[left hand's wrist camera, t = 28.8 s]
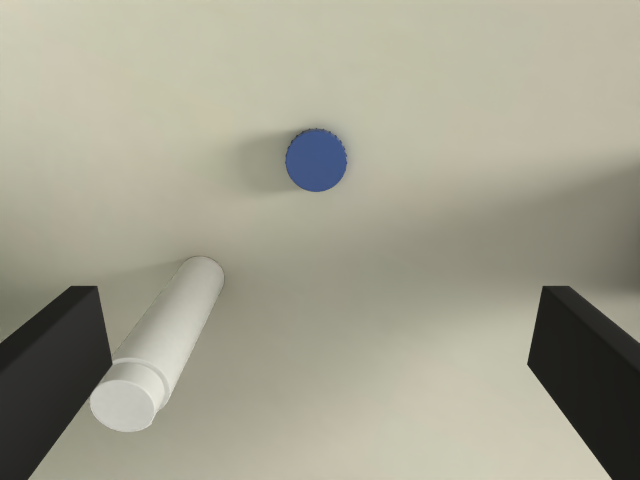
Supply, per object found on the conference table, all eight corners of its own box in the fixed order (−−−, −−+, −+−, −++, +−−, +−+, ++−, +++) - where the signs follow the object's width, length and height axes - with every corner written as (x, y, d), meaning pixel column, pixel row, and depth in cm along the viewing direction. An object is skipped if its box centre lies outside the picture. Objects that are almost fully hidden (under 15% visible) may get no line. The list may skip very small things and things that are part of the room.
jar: (169, 274, 45) (67, 402, 27) (202, 247, 44) (119, 362, 26) (201, 305, 46) (125, 448, 28) (233, 279, 45) (176, 411, 27)
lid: (353, 176, 41) (355, 180, 39) (299, 195, 42) (298, 200, 40) (334, 119, 39) (335, 121, 37) (277, 140, 40) (275, 143, 38)
